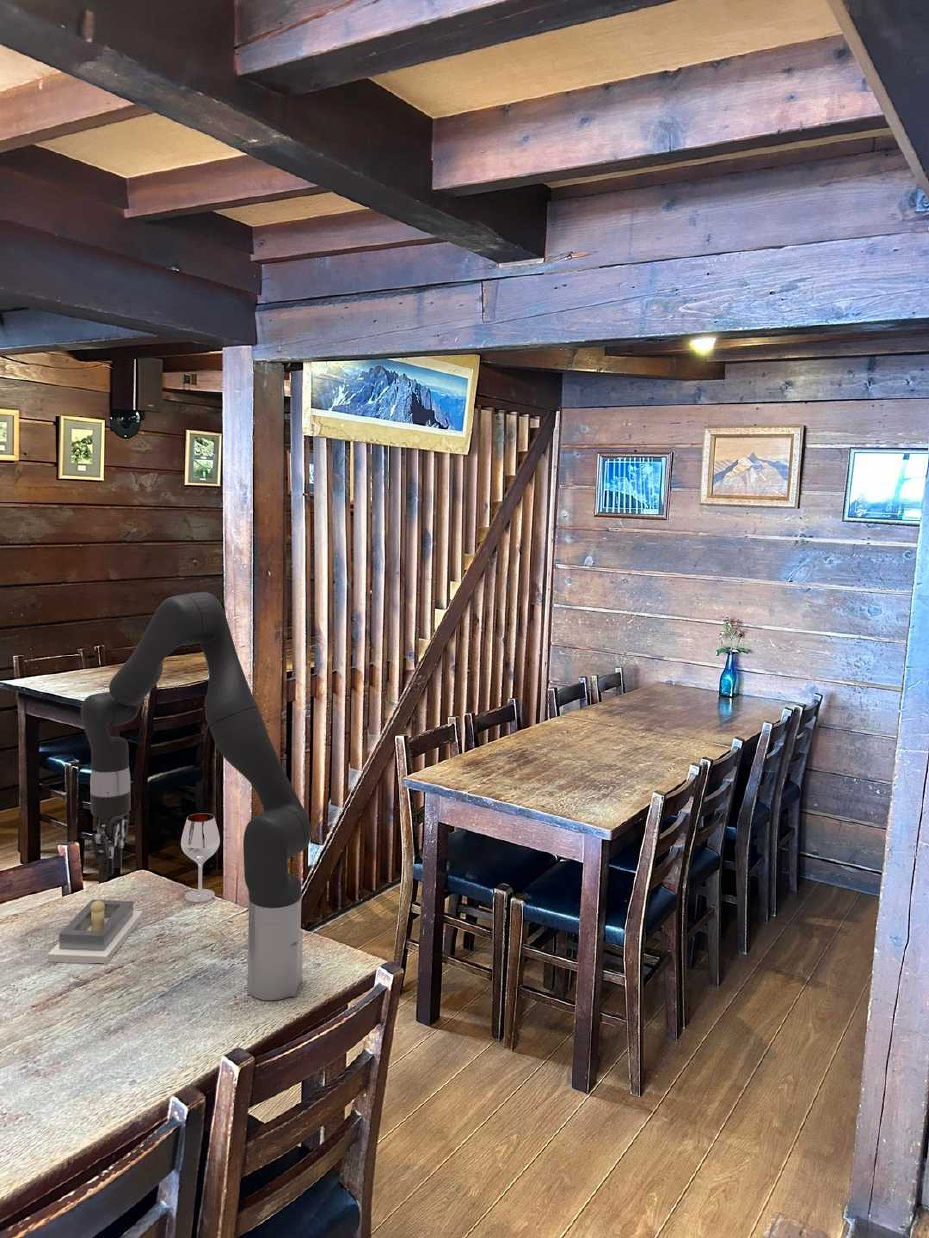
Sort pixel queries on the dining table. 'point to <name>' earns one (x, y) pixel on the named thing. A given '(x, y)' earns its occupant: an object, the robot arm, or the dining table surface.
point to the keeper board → (96, 954)
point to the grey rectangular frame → (99, 940)
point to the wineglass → (200, 848)
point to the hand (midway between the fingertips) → (111, 870)
